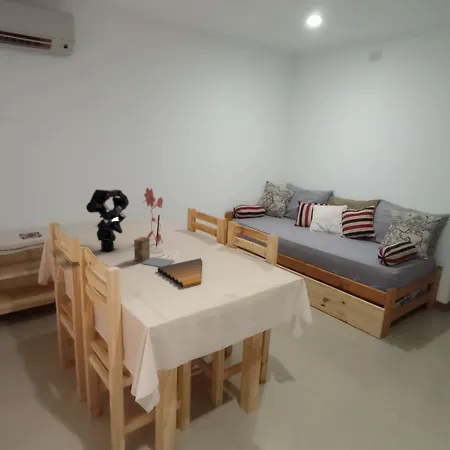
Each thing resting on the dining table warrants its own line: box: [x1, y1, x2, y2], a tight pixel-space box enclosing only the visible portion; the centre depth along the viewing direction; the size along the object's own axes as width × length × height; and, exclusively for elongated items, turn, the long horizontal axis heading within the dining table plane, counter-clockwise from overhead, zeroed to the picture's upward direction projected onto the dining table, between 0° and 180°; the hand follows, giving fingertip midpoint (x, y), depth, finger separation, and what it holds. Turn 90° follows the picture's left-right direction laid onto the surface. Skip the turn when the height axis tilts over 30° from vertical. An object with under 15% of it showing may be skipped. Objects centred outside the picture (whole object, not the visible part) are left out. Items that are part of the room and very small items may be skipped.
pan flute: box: [157, 257, 203, 289], centre depth 180 cm, size 25×3×25 cm
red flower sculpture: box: [142, 187, 164, 248], centre depth 225 cm, size 15×26×35 cm, turn 38°
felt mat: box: [140, 256, 175, 268], centre depth 194 cm, size 14×11×1 cm
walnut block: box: [133, 236, 151, 263], centre depth 196 cm, size 5×7×12 cm
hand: (121, 232), depth 198 cm, fingers closed
